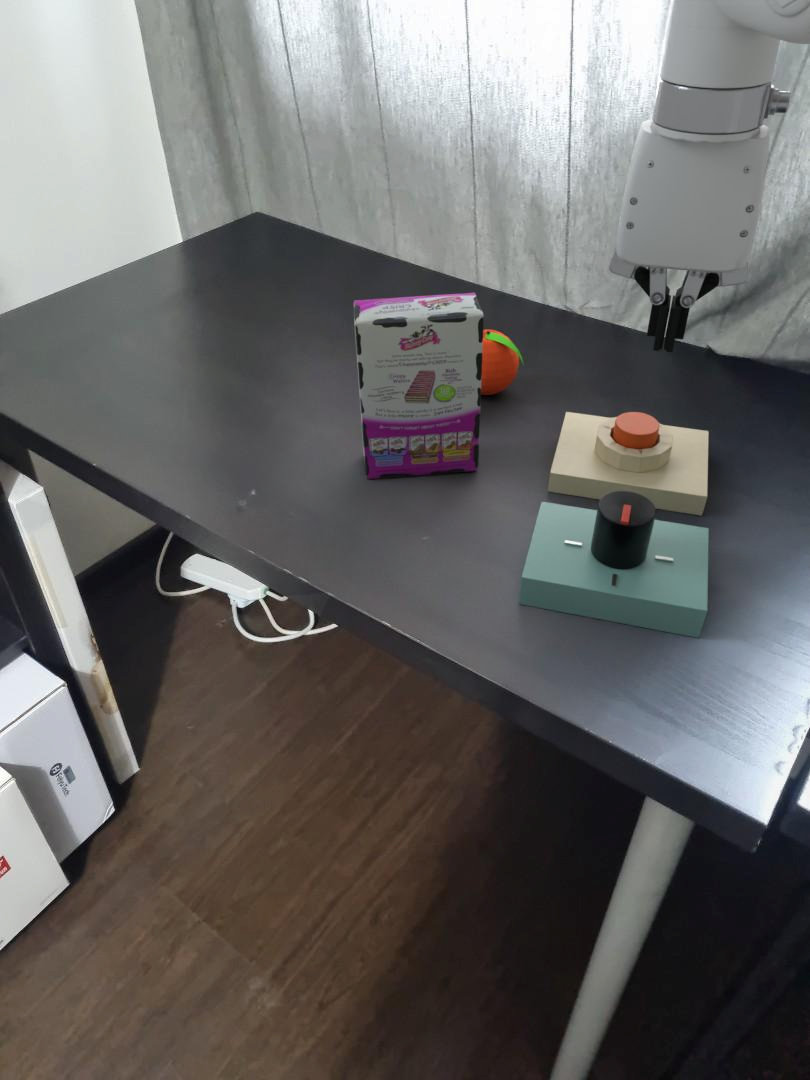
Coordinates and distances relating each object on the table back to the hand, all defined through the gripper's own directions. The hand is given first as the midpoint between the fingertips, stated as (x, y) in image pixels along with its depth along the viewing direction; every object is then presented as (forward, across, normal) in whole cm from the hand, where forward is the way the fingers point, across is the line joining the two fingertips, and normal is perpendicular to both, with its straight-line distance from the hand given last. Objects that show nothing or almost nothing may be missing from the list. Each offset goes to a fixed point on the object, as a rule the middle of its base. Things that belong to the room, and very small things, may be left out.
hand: (663, 344), depth 70 cm
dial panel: (+14, +1, +15) cm, 21 cm away
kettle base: (+14, +1, -1) cm, 14 cm away
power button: (+10, +1, -1) cm, 10 cm away
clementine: (+14, +17, -12) cm, 25 cm away
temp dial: (+11, +1, +15) cm, 19 cm away
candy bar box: (+14, +21, +3) cm, 25 cm away
